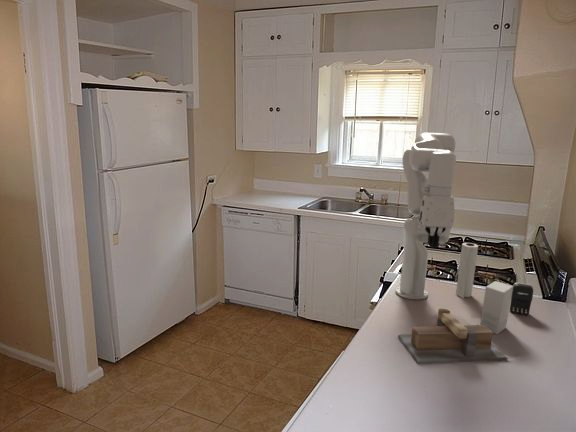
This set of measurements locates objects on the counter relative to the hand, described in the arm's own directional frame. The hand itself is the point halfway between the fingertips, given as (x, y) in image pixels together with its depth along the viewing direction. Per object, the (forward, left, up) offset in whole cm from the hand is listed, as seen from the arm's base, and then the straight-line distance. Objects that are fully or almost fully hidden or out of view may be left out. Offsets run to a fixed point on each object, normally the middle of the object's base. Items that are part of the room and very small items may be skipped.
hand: (432, 246), depth 152 cm
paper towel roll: (-28, +29, -29) cm, 50 cm away
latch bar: (+13, +3, -22) cm, 26 cm away
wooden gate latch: (+14, +3, -29) cm, 32 cm away
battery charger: (-10, +42, -29) cm, 52 cm away
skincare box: (+1, +25, -29) cm, 39 cm away
